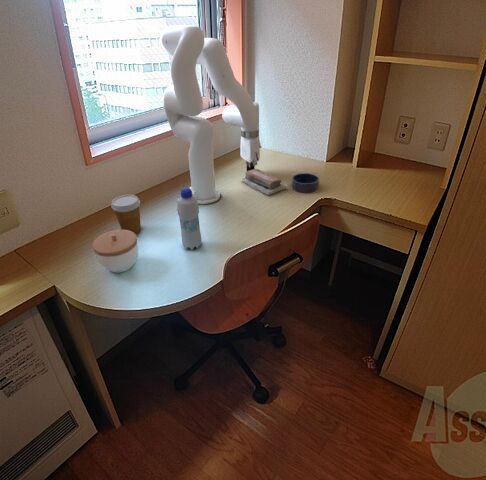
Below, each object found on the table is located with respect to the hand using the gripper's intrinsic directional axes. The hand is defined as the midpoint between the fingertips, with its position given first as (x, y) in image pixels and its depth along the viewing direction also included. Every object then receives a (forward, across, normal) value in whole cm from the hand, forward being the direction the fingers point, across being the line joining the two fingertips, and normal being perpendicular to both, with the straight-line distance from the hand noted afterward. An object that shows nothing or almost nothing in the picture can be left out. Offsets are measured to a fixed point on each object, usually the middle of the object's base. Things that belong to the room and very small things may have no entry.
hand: (250, 174), depth 160 cm
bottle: (+1, +40, -42) cm, 59 cm away
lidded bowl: (+1, +40, -65) cm, 77 cm away
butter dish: (+1, +12, 0) cm, 12 cm away
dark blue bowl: (+1, +22, +14) cm, 26 cm away
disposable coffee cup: (+1, +21, -58) cm, 62 cm away
